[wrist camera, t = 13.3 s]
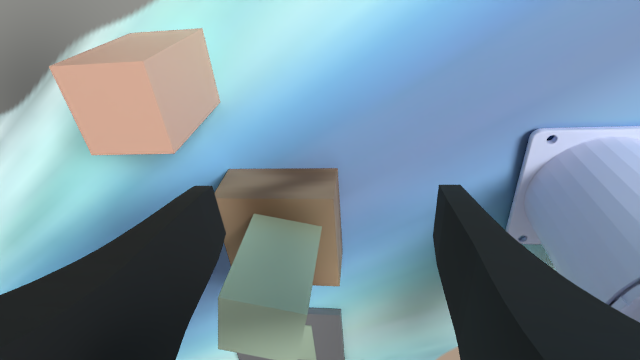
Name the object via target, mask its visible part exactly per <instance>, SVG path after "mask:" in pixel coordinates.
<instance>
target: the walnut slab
mask: <svg viewBox="0 0 640 360" xmlns="http://www.w3.org/2000/svg"><path fill="white" fill-rule="evenodd" d="M214 194H215V197H216V200H217V204H218V207H219V211H220V214H221V217H222V221H223V224H224V228H225V231H226V235H225V239H224V244H225V247H226V251H227V254H228V258H229V261H230V264H231V266H232V264H233V261H234V259H235V257H236V254H237V252H238V250H239V247H240V245H241V243H242V240H243V238H244V236H245V233H246V231H247V228H248V226H249V224H250V221H251V219H252V217H253V214H259V215H264V216H270V217H275V218H280V219H285V220H291V221H296V222H301V223H306V224H311V225H316V226H322V230H321V236H320V242H319V248H318V254H317V260H316V266H315V272H314V278H313V284H312V285H320V286H340V275H341V263H342V234H341V217H340V200H339V183H338V168H320V169H229V170H228V171H227V173H226V175H225V176H224V178H223V180H222V181H221V183H220V185H219V186H218V188H217V189H216V191H215V193H214Z"/></svg>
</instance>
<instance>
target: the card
mask: <svg viewBox="0 0 640 360" xmlns="http://www.w3.org/2000/svg"><path fill="white" fill-rule="evenodd" d="M237 355H238V358H239V360H273V359H267V358H262V357H257V356H252V355H247V354H242V353H237ZM298 360H345V357H344V344H343V331H342V319H341V309H325V308H308V314H307V319H306V323H305V328H304V333H303V337H302V342H301V347H300V351H299V356H298Z"/></svg>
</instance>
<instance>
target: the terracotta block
mask: <svg viewBox="0 0 640 360" xmlns="http://www.w3.org/2000/svg"><path fill="white" fill-rule="evenodd" d="M49 68H50V70H51V72H52V74H53V76H54V78H55V80H56V82H57V84H58V86H59V88H60V90H61V92H62V95H63V97H64V99H65V101H66V103H67V105H68V107H69V109H70V111H71V113H72V115H73V117H74V119H75V121H76V124H77V126H78V128H79V130H80V132H81V134H82V136H83V138H84V140H85V142H86V144H87V146H88V148H89V150H90V153H91V155H123V154H175V152H176V151H177V150H178V149H179V148H180V147H181V146H182V145H183V143H184V142H185V141H186V140H187V139H188V138H189V137H190V136H191V135H192V133H193V132H194V131H195V130H196V129H197V128H198V127H199V126H200V124H201V123H202V122H203V121H204V120H205V119H206V118H207V117H208V115H209V114H210V113H211V112H212V111H213V110H214V109H215V108H216V106H217V105H218V104H219V103H220V99H219V95H218V91H217V87H216V83H215V79H214V75H213V70H212V66H211V62H210V58H209V54H208V50H207V46H206V41H205V37H204V33H203V29H202V28H199V29H184V30H169V31H154V32H140V33H130V34H127V35H125V36H122V37H120V38H117V39H115V40H113V41H110V42H108V43H105V44H103V45H100V46H98V47H95V48H93V49H90V50H88V51H85V52H83V53H81V54H78V55H76V56H73V57H71V58H68V59H66V60H63V61H61V62H58V63H56V64H54V65H51V66H49Z"/></svg>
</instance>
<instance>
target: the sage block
mask: <svg viewBox="0 0 640 360" xmlns="http://www.w3.org/2000/svg"><path fill="white" fill-rule="evenodd" d="M321 230H322V226H316V225H311V224H306V223H301V222H296V221H291V220H285V219H280V218H275V217H270V216H264V215H259V214H253V217H252V219H251V221H250V224H249V226H248V228H247V231H246V233H245V236H244V238H243V240H242V243H241V245H240V247H239V250H238V252H237V254H236V257H235V259H234V261H233V264H232V266H231V268H230V271H229V273H228V275H227V278H226V280H225V282H224V285H223V287H222V289H221V292H220V294H219V297H218V349H222V350H227V351H232V352H237V353H242V354H247V355H252V356H257V357H262V358H267V359H273V360H298V356H299V351H300V347H301V342H302V337H303V333H304V328H305V323H306V319H307V314H308V308H309V302H310V296H311V290H312V284H313V278H314V272H315V266H316V260H317V254H318V248H319V242H320V236H321Z"/></svg>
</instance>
